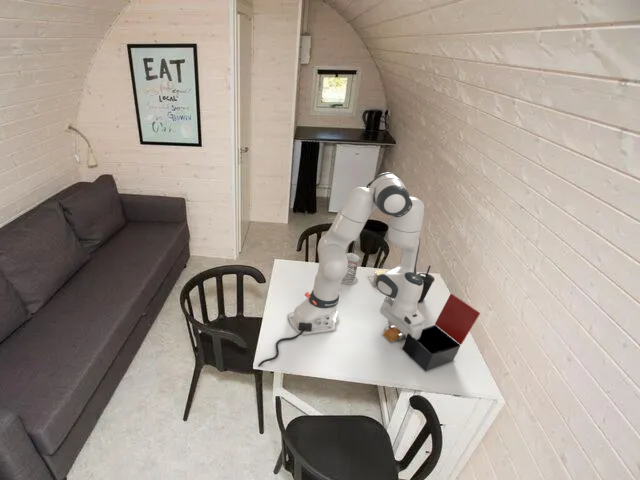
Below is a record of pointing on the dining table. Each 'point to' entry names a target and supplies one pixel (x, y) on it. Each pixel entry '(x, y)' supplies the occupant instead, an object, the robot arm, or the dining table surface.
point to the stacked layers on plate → (373, 279)
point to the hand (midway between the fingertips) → (395, 333)
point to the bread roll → (392, 334)
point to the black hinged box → (431, 348)
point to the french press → (352, 264)
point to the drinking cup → (426, 284)
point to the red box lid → (457, 318)
